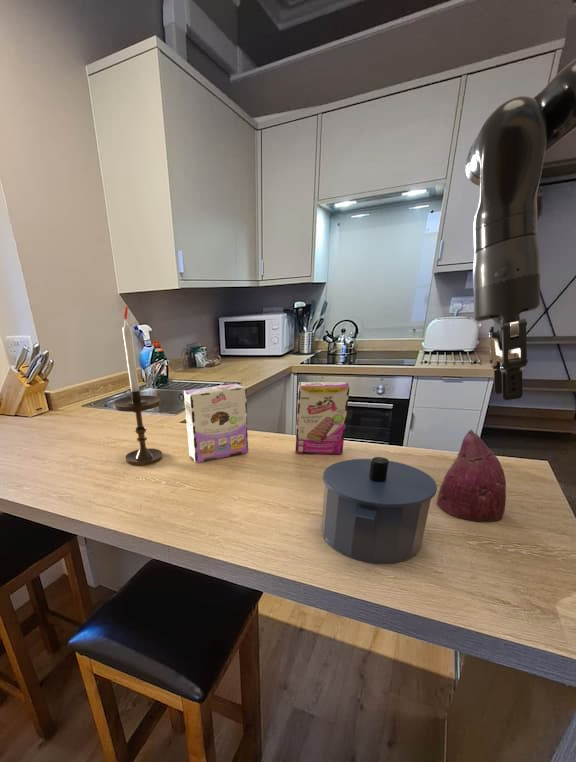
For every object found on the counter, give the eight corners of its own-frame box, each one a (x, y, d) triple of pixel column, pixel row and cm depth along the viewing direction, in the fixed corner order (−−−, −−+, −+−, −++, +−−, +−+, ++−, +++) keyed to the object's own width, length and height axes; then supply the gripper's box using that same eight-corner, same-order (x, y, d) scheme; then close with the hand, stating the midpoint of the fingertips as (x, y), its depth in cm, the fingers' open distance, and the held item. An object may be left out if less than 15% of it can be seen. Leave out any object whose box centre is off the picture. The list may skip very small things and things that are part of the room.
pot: (424, 515, 67) (434, 464, 63) (415, 587, 51) (428, 525, 47) (337, 499, 73) (341, 452, 69) (305, 558, 58) (309, 502, 54)
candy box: (239, 446, 102) (237, 382, 95) (248, 453, 97) (247, 386, 89) (188, 455, 97) (182, 389, 90) (195, 463, 92) (190, 394, 85)
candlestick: (169, 449, 102) (153, 302, 87) (162, 466, 92) (144, 303, 77) (128, 451, 102) (105, 304, 87) (117, 467, 92) (89, 306, 78)
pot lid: (437, 473, 61) (442, 448, 59) (433, 521, 49) (439, 492, 47) (335, 459, 68) (337, 437, 66) (310, 498, 56) (311, 472, 54)
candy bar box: (295, 454, 95) (298, 386, 88) (295, 447, 99) (297, 381, 92) (343, 455, 93) (350, 385, 86) (341, 447, 97) (347, 381, 90)
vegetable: (424, 517, 72) (412, 439, 68) (465, 498, 75) (456, 422, 71) (479, 533, 62) (469, 442, 59) (523, 510, 65) (517, 423, 62)
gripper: (552, 262, 47) (551, 397, 51) (528, 278, 59) (529, 387, 63) (478, 281, 51) (482, 405, 55) (469, 293, 63) (473, 394, 67)
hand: (507, 395), depth 59 cm, fingers open, 8 cm apart
